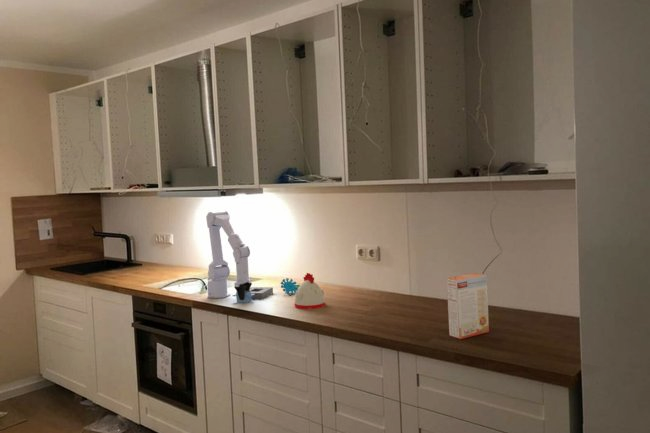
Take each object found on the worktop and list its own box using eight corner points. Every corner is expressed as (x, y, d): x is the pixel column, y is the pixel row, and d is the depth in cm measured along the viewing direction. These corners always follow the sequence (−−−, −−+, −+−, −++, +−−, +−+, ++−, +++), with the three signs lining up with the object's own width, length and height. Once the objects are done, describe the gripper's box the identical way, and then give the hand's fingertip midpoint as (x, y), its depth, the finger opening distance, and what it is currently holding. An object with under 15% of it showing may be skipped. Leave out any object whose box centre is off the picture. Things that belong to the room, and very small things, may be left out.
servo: (251, 302, 249) (251, 290, 248) (232, 302, 252) (232, 290, 251) (255, 301, 253) (254, 288, 252) (236, 300, 255) (235, 288, 255)
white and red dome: (304, 310, 229) (303, 277, 228) (289, 305, 240) (287, 273, 239) (330, 305, 236) (329, 273, 236) (314, 300, 248) (313, 269, 247)
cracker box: (477, 329, 190) (475, 272, 188) (489, 332, 184) (488, 274, 183) (447, 335, 183) (446, 277, 182) (459, 339, 178) (458, 279, 176)
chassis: (240, 298, 259) (239, 292, 259) (251, 292, 273) (251, 287, 273) (262, 299, 256) (261, 293, 256) (273, 293, 269) (272, 287, 269)
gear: (284, 293, 260) (279, 277, 266) (279, 300, 263) (275, 284, 270) (303, 293, 266) (298, 277, 272) (299, 299, 269) (293, 284, 275)
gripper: (243, 273, 243) (245, 302, 244) (256, 268, 257) (257, 295, 258) (229, 273, 245) (231, 302, 246) (243, 268, 259) (244, 295, 260)
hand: (243, 298), depth 252 cm, fingers closed on servo, 4 cm apart
